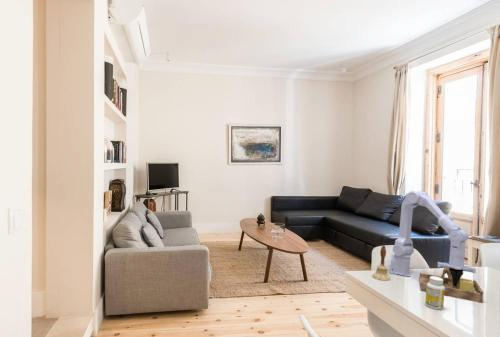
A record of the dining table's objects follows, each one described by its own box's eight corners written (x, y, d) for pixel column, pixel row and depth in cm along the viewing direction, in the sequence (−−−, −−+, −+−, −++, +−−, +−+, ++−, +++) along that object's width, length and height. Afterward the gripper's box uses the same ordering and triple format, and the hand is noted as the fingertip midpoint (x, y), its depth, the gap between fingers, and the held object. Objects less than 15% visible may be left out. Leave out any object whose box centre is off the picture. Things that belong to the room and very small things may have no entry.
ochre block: (459, 289, 147) (460, 280, 146) (457, 286, 151) (458, 277, 151) (472, 292, 144) (473, 283, 144) (470, 288, 149) (471, 280, 149)
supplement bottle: (431, 309, 128) (433, 280, 128) (421, 302, 135) (423, 275, 134) (447, 309, 129) (449, 281, 129) (436, 302, 135) (438, 275, 135)
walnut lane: (420, 290, 148) (421, 280, 148) (419, 279, 163) (419, 270, 162) (482, 302, 138) (483, 292, 138) (474, 290, 153) (475, 280, 153)
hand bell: (393, 281, 158) (395, 248, 158) (375, 280, 158) (378, 247, 158) (386, 275, 166) (388, 244, 166) (370, 274, 167) (372, 243, 166)
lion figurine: (448, 275, 172) (450, 258, 172) (460, 278, 168) (461, 261, 168) (438, 281, 163) (439, 263, 162) (450, 284, 159) (451, 266, 158)
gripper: (439, 255, 148) (437, 284, 149) (478, 261, 142) (475, 292, 143) (438, 251, 155) (435, 280, 155) (474, 257, 149) (472, 286, 149)
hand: (454, 285), depth 149 cm, fingers closed
